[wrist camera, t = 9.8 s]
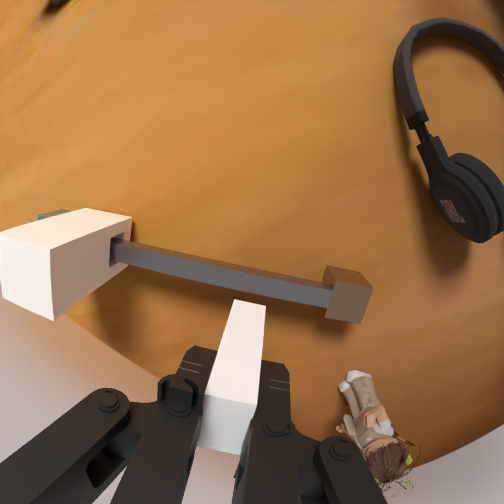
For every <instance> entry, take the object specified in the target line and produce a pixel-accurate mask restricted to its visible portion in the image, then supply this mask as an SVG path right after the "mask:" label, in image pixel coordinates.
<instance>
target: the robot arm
mask: <svg viewBox="0 0 504 504" xmlns="http://www.w3.org/2000/svg"><path fill="white" fill-rule="evenodd" d="M265 310H266V306H263V305H259V304H254V303H249V302H245V301H240V300H236V299H234V302H233V305H232V308H231V312H230V315H229V318H228V321H227V324H226V327H225V331H224V334H223V337H222V340H221V343H220V346H219V350H218V351H215V350H211V349H207V348H203V347H199V346H194V347H192V348H191V349H189V350H188V351H186V353H185V355H184V358H183V360H182V362H181V364H180V366H179V368H178V370H177V372H176V374H173V375H168V376H165V377H163V378H162V379H161V380H160V381H159V382H158V394H157V401H155V402H151V403H138V402H129V400H128V398H127V396H126V395H125V394H123V393H122V392H121V391H118V390H116V389H112V388H102V389H97V390H96V391H94V392H92V393H90V394H89V395H88V396H87V397H85V398H84V399H83V400H82V401H80V402H79V403H78V404H76V405H75V406H74V407H73V408H71V409H70V410H69V411H67V412H66V413H65V414H64V415H62V416H61V417H60V418H58V419H57V420H56V421H55V422H53V423H52V424H51V425H50V426H48V427H47V428H46V429H44V430H43V431H42V432H41V433H39V434H38V435H36V436H35V437H34V438H33V439H32V440H30V441H29V442H28V443H26V444H25V445H23V446H22V447H21V448H20V449H18V450H17V451H16V452H14V453H13V454H12V455H10V456H9V457H8V458H7V459H5V460H4V461H3V462H1V463H0V504H92V503H93V502H94V501H95V500H96V499H97V498H98V496H99V495H101V493H102V492H103V491H104V490H105V489H106V488H107V487H108V486H109V485H110V484H111V483H112V482H113V480H114V479H115V478H116V477H117V476H118V475H119V474H120V473H121V472H122V471H123V469H124V468H125V467H126V466H127V468H126V470H125V472H124V474H123V476H122V478H121V481H120V483H119V485H118V487H117V489H116V492H115V494H114V496H113V498H112V500H111V503H110V504H181V503H182V499H183V496H184V492H185V488H186V485H187V481H188V478H189V474H190V470H191V467H192V463H193V460H194V454H195V449H196V446H199V447H203V448H208V449H212V450H217V451H221V452H226V453H231V454H237V455H240V453H241V457H240V462H239V464H238V467H237V470H236V472H235V475H234V478H236V479H235V485H234V492H233V498H232V504H387V501H386V500H385V498H384V496H383V494H382V492H381V490H380V488H379V486H378V484H377V482H376V480H375V478H374V477H373V475H372V473H371V471H370V469H369V467H368V465H367V463H366V461H365V459H364V457H363V455H362V454H361V452H360V450H359V448H358V447H357V445H356V444H355V443H354V442H352V441H351V440H349V439H347V438H344V437H341V436H332V437H328V438H326V439H325V440H323V441H322V442H320V441H317V440H314V439H311V438H309V437H307V436H304V435H302V434H301V433H300V432H298V431H297V430H296V428H295V425H294V424H293V423H292V422H291V411H290V384H289V382H290V381H289V372H288V370H287V369H286V367H285V365H284V364H281V363H276V362H270V361H265V360H261V357H262V345H263V334H264V322H265Z"/></svg>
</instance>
